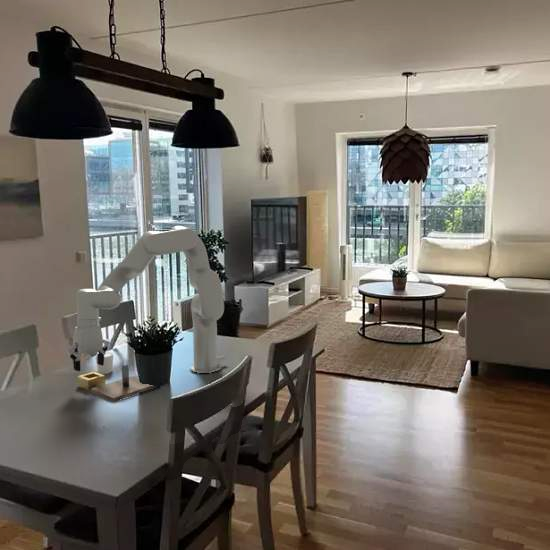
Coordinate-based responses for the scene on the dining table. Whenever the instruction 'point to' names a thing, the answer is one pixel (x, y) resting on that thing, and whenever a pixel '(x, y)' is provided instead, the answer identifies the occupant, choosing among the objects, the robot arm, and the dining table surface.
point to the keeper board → (120, 389)
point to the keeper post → (125, 375)
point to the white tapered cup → (105, 364)
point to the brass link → (91, 380)
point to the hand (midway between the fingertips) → (89, 367)
